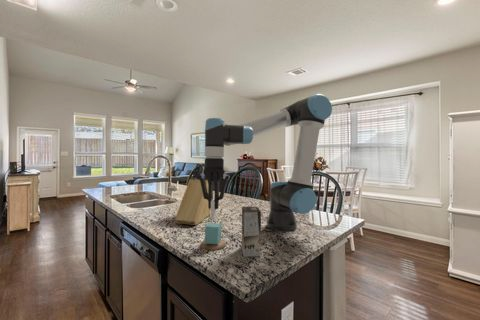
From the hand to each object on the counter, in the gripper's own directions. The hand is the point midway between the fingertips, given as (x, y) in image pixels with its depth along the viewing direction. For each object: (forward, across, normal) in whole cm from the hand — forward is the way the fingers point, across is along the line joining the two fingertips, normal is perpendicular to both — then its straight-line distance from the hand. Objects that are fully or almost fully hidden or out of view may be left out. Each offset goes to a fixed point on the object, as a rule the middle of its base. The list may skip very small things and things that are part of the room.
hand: (213, 216), depth 92 cm
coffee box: (+12, -16, +3) cm, 20 cm away
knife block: (+12, +21, -38) cm, 45 cm away
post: (+11, 0, 0) cm, 11 cm away
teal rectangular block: (+10, 0, 0) cm, 10 cm away
